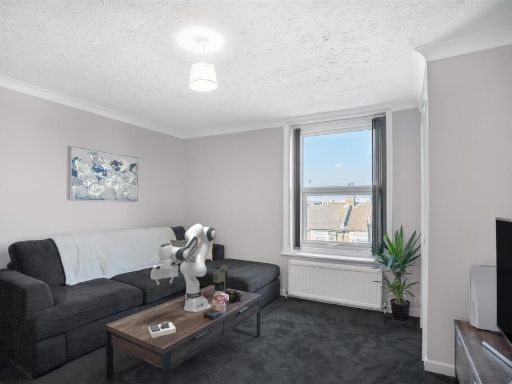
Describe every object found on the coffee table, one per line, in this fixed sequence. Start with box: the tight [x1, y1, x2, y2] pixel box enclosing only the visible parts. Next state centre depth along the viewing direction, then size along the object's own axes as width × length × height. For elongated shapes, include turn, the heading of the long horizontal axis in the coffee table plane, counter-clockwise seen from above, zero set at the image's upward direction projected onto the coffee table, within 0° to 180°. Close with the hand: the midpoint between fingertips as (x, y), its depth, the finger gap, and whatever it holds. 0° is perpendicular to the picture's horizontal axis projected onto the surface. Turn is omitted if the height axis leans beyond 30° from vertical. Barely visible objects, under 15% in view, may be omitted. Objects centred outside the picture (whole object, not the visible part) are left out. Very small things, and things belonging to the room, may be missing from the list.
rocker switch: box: [160, 320, 169, 329], centre depth 205 cm, size 4×4×6 cm
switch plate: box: [147, 321, 177, 339], centre depth 204 cm, size 16×12×4 cm
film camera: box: [225, 289, 242, 304], centre depth 266 cm, size 18×12×10 cm
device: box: [213, 263, 229, 295], centre depth 283 cm, size 14×8×30 cm, turn 144°
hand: (164, 283), depth 220 cm, fingers open, 8 cm apart
